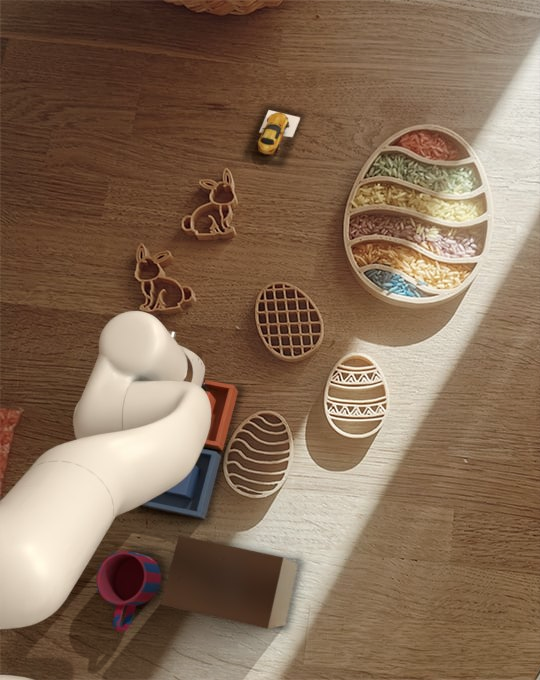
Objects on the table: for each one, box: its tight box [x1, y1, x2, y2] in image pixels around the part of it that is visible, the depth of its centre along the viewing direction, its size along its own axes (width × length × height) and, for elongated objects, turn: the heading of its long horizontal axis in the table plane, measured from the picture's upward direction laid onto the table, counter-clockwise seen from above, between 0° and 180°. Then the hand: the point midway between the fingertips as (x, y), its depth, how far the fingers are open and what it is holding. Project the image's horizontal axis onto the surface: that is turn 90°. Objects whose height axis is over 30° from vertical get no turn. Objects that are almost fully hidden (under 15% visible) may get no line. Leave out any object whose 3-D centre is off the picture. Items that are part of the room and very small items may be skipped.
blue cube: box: [164, 465, 201, 500], centre depth 104 cm, size 4×4×4 cm
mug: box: [95, 550, 162, 633], centre depth 98 cm, size 7×10×7 cm
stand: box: [160, 535, 299, 630], centre depth 93 cm, size 8×13×16 cm, turn 78°
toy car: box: [256, 109, 301, 156], centre depth 124 cm, size 4×8×2 cm, turn 162°
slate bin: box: [140, 448, 222, 520], centre depth 104 cm, size 9×9×4 cm
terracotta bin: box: [203, 379, 239, 452], centre depth 108 cm, size 9×9×4 cm
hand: (196, 410), depth 107 cm, fingers closed on terracotta block, 4 cm apart
